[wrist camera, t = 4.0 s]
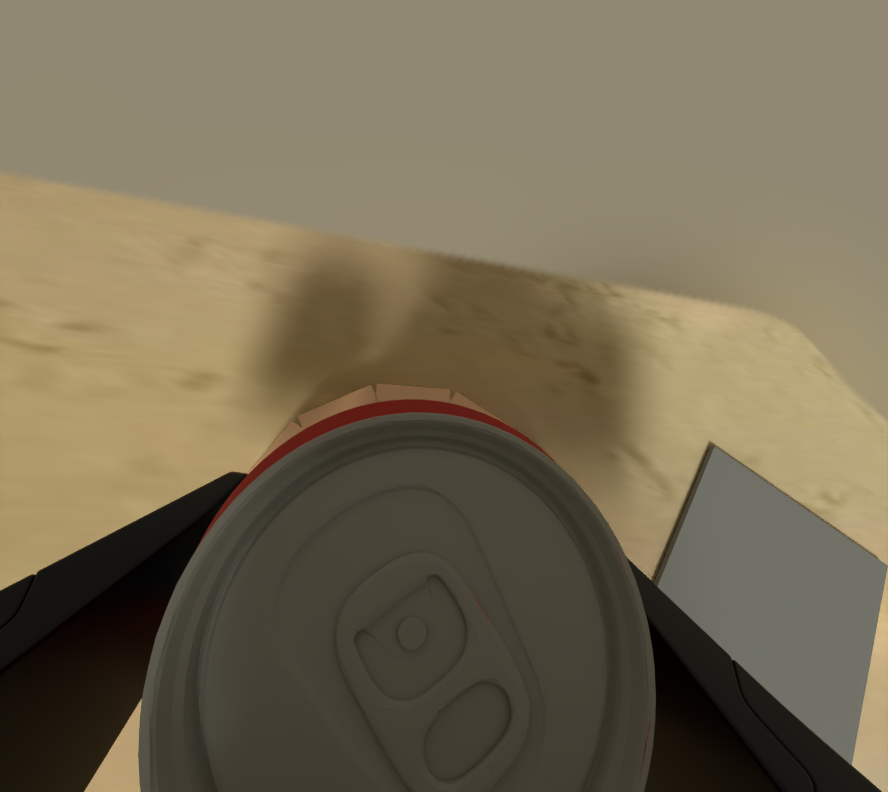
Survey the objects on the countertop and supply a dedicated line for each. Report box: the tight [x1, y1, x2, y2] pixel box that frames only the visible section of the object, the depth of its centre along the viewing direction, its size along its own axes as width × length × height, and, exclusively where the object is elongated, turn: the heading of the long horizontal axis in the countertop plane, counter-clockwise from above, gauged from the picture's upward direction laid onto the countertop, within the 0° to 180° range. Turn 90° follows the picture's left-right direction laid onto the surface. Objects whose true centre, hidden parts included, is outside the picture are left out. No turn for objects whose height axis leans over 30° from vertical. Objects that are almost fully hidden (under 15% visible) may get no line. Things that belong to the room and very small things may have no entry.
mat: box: [654, 446, 888, 765], centre depth 15 cm, size 18×10×1 cm, turn 144°
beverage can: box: [138, 399, 656, 792], centre depth 9 cm, size 7×7×12 cm
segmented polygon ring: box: [247, 383, 516, 474], centre depth 14 cm, size 13×13×2 cm
